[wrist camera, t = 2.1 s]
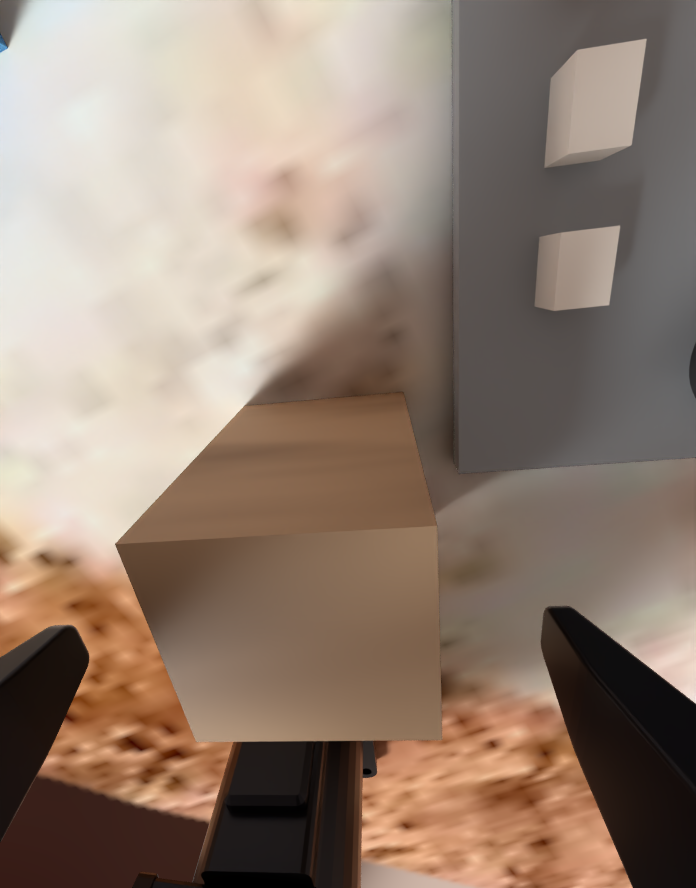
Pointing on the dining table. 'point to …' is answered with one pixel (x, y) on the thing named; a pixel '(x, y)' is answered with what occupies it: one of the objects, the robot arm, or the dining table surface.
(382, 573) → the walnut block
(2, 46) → the perfume bottle
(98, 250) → the dining table surface
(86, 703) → the dining table surface
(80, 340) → the dining table surface
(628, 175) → the panel
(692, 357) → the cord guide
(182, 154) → the dining table surface
